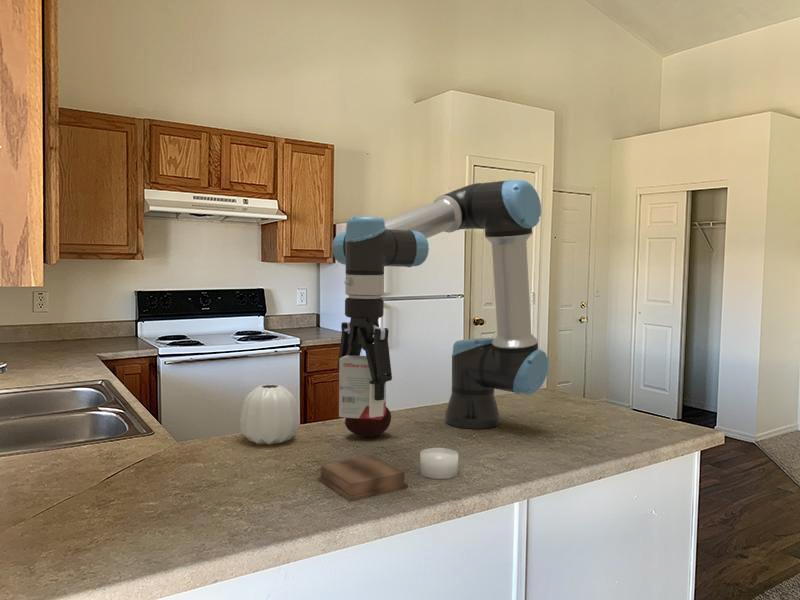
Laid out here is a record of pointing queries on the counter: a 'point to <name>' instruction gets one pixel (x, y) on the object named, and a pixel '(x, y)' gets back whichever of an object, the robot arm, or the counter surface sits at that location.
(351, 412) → the ink box
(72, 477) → the counter surface
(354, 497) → the podium
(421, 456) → the white dome button
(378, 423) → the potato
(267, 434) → the vase
